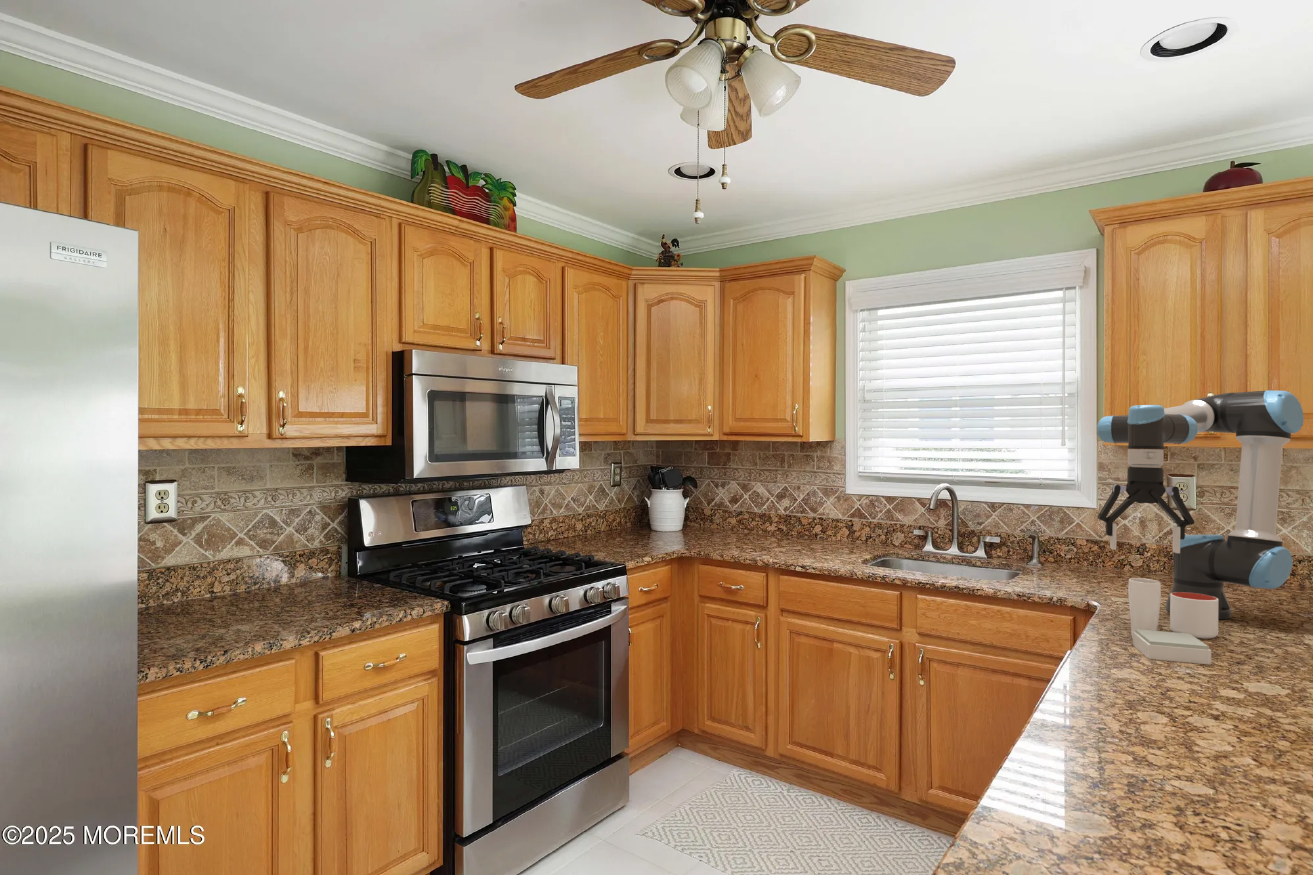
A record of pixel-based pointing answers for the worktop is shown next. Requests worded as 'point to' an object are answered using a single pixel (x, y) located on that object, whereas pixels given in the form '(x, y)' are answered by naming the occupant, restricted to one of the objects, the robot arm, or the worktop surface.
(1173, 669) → the worktop surface
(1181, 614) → the cup
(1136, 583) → the drinking glass
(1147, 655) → the coaster
